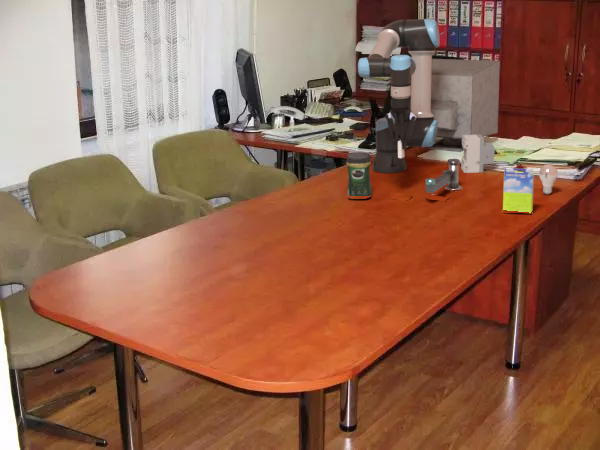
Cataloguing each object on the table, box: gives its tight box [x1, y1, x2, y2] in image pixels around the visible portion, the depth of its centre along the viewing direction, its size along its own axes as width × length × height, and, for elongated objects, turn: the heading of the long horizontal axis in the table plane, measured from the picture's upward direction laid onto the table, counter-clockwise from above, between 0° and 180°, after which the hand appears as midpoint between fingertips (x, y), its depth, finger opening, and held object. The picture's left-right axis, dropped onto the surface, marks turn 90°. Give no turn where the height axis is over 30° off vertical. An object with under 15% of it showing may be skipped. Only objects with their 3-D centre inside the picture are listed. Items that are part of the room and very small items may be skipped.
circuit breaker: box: [460, 134, 498, 174], centre depth 358 cm, size 8×14×15 cm, turn 89°
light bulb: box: [538, 164, 559, 196], centre depth 319 cm, size 7×7×12 cm
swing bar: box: [425, 169, 457, 194], centre depth 321 cm, size 22×5×6 cm, turn 148°
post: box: [444, 158, 463, 190], centre depth 332 cm, size 7×7×12 cm
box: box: [502, 167, 535, 213], centre depth 298 cm, size 10×4×17 cm, turn 72°
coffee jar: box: [346, 151, 373, 196], centre depth 325 cm, size 10×8×19 cm
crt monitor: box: [427, 58, 501, 153], centre depth 397 cm, size 35×37×40 cm
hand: (401, 157), depth 321 cm, fingers closed
